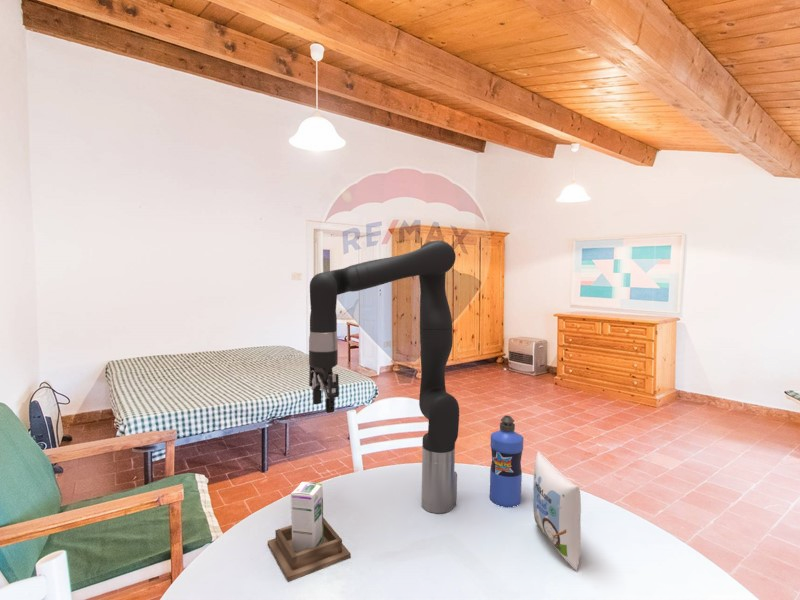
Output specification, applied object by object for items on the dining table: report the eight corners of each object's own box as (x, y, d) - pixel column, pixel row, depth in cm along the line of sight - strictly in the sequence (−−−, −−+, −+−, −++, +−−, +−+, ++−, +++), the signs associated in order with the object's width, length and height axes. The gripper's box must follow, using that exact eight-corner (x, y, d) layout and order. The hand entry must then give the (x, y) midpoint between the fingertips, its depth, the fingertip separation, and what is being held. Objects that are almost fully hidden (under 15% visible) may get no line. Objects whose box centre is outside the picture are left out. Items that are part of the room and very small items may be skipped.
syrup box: (314, 555, 102) (314, 495, 101) (290, 551, 103) (290, 491, 102) (323, 540, 107) (323, 483, 106) (301, 537, 109) (301, 480, 108)
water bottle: (515, 511, 124) (518, 424, 122) (484, 501, 128) (486, 417, 127) (525, 497, 131) (528, 415, 130) (495, 488, 136) (497, 409, 135)
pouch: (553, 522, 118) (555, 450, 117) (589, 571, 99) (593, 485, 98) (524, 524, 117) (526, 451, 116) (555, 573, 98) (559, 486, 97)
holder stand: (324, 525, 115) (324, 511, 115) (350, 557, 103) (350, 541, 103) (267, 544, 107) (267, 528, 107) (288, 581, 95) (287, 563, 94)
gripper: (348, 351, 113) (347, 413, 114) (325, 342, 125) (325, 399, 126) (320, 353, 109) (320, 418, 110) (300, 345, 121) (300, 403, 122)
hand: (323, 407), depth 118 cm, fingers open, 8 cm apart
